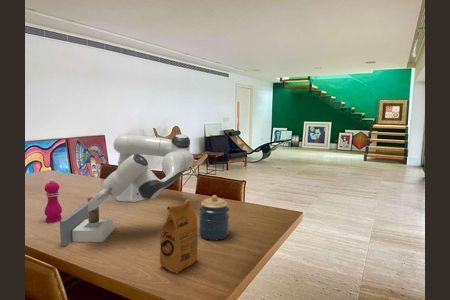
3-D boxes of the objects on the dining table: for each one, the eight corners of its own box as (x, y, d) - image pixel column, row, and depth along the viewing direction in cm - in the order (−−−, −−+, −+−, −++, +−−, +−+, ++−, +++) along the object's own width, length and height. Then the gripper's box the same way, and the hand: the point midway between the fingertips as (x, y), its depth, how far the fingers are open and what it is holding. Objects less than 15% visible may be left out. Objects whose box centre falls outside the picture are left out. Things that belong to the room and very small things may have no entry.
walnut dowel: (97, 218, 125) (96, 196, 123) (100, 221, 122) (99, 198, 120) (87, 221, 122) (86, 198, 121) (90, 223, 119) (89, 200, 118)
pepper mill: (44, 224, 133) (41, 181, 131) (45, 218, 140) (43, 178, 137) (62, 221, 137) (60, 180, 134) (62, 216, 143) (60, 176, 140)
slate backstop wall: (88, 225, 132) (87, 204, 131) (66, 246, 113) (65, 221, 111) (84, 225, 132) (83, 204, 131) (61, 246, 112) (59, 221, 111)
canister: (217, 244, 118) (218, 201, 115) (192, 236, 124) (193, 196, 122) (234, 233, 128) (235, 194, 126) (210, 226, 135) (210, 189, 133)
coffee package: (155, 266, 100) (155, 204, 97) (181, 252, 110) (181, 196, 107) (175, 276, 94) (176, 211, 91) (201, 261, 104) (202, 201, 101)
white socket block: (113, 230, 129) (113, 219, 128) (102, 242, 117) (102, 230, 116) (86, 230, 128) (85, 219, 128) (72, 242, 117) (72, 230, 116)
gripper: (111, 198, 110) (86, 222, 111) (127, 184, 130) (106, 205, 131) (99, 186, 109) (73, 211, 110) (117, 174, 130) (95, 195, 131)
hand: (91, 207), depth 121 cm, fingers closed on walnut dowel, 4 cm apart
